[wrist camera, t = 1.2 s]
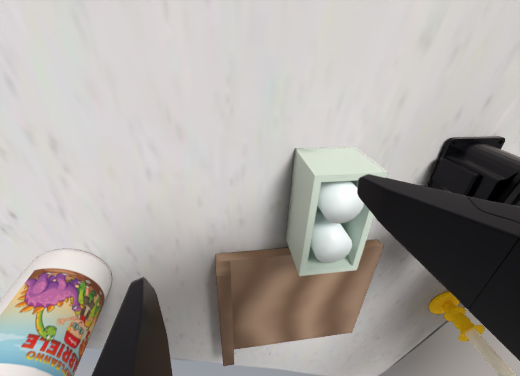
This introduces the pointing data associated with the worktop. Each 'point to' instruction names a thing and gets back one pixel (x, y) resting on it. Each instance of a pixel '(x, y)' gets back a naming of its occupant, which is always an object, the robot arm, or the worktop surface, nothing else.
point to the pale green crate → (328, 209)
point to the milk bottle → (51, 313)
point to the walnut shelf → (286, 298)
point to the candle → (468, 330)
